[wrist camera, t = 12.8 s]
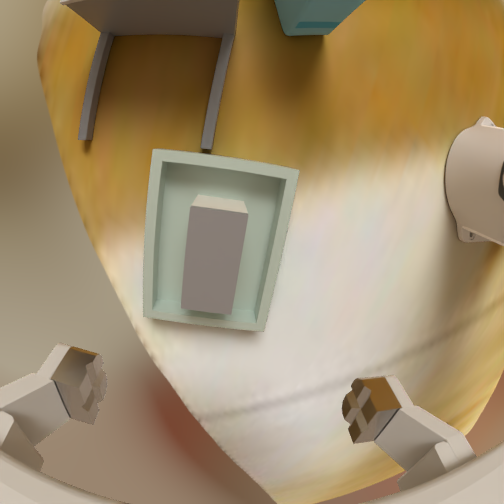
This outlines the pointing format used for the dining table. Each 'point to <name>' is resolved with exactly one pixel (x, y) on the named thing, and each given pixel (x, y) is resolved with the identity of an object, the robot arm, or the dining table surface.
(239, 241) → the tall grey rectangular block
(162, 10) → the bay
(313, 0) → the data package
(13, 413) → the robot arm
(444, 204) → the dining table surface
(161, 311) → the tray
